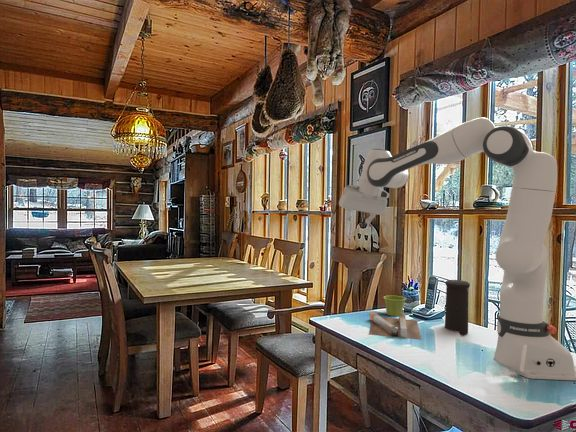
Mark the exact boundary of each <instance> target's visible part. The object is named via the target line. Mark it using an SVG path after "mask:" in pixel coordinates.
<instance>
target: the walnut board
mask: <svg viewBox="0 0 576 432" xmlns="http://www.w3.org/2000/svg"><path fill="white" fill-rule="evenodd" d="M381 317H382V316H381ZM382 318H383V319H385V320H386V321H388V322H389V323H391V324H392V325H394V326H396V327H398V336H392V335H391V334H390V333H388V332H387V331H386V330H384V329H383V328H381V327H380V326H379V325H377V324H376V323H375V322H373V321H371V320H370V326H369V331H368V335H370V336H371V335H372V336H379V337H388V338H389V337H391V338H392V337H393V338H400V339H403V338H402V337H401V335H400V323H399V318H392V317H382ZM405 321H406V327H407V338H406V339H411V340H419V341H420V340H421V341H422V335H421V331H420V328H419V324H418V320H416V319H415V320H414V319H406V318H405Z"/></svg>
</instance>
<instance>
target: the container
mask: <svg viewBox="0 0 576 432" xmlns="http://www.w3.org/2000/svg"><path fill="white" fill-rule="evenodd" d="M444 283H445V286H446V290H445V292H446V293H445V295H446V296H445V317H444V318H445V319H444V328H445V329H446V330H448V331H452V332H458V333H459V335H460V336H464V335H465V336H466V335H468V333H469V292H470V291H469V288H470V286H471V284H470V282H468V281H466V280H461V279H460V280H459V279H447V280H445V282H444Z"/></svg>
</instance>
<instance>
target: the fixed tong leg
mask: <svg viewBox="0 0 576 432" xmlns="http://www.w3.org/2000/svg"><path fill="white" fill-rule="evenodd" d="M398 319H399V323H400V335H401V337H402V338H401V339H408V338H407V327H406V321H405V319H406V314H403V313H402V314H399V316H398Z"/></svg>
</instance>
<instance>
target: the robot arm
mask: <svg viewBox="0 0 576 432" xmlns="http://www.w3.org/2000/svg"><path fill="white" fill-rule="evenodd" d="M480 153H484V154H485V155H486V157H487V158H488V159H489V160H491V161H493V162H494V163H496V164H498V165H501V166H503V167H508V168H510V169H512V172H513V179H512V185H511V190H510V191H511V192H510V197H509V203H508V207H507V209H508V210H507V213H506V217H505V221H504V224H503V227H502V231H501V234H500V237H499V241H498V245H497V247H496V248H497V249H496V251H495V261H496V263H497V264H498V266H499V268H501V269H502V270H503V277H502V283H501V287H500V290H499V291H500V292H499V315H498V316H497V322H496V323H497V326H496V328H497V329H496V331H497V344H496V348H495V351H494V355H493V358H492V360H493V361H495V362H497V363H498V364H501V366H505V367H506V368H508V369H510V370H512V371H514V372H515V373H517V374H519V375H520V376H523V377H525V378H527V379H534V380H535V379H536V380H537V379H539V380H555V381H559V380H560V381H576V366H575V362H574V358H573V355H572V354H571V352H570V350H569V349H568V348H566V347H565V346H564V345H563V344H562V343H561V342H560V341H558V340H557V339H556V338H554V337H553V336H552V335H553V334H556V333H557V331H558V330H557V327H555V326H554V325H552V324H549V323H547V322H546V321H544V292H545V283H546V277H547V275H546V274H547V263H548V250H547V247H546V245H545V240H546V236H547V233H548V230H549V226H550V222H551V220H552V215H553V211H554V209H553V208H554V204H555V198H556V193H557V192H556V191H557V188H558V187H557V185H558V162H557V160H556V158H555V156H554V155H552V154H549V153H548V152H542V151H535V145H534V142H533V141H532V139H531V138H529V137H528V135H527V134H526V133H525V132H523V130H522V131H521V130H519V129H518V128H515V126H512V125H511V126H510V125H500V126H497V127H496V126H495V124H494V122H492V121H491V120H490V119H489V118H487V117H482V116H481V117H477V118H475V119H471V120H469V121H465V122H463V123H460V124H458V125H456V126H454V127H452V128H450V129H448V130H446V131H444V132H443V133H440V134H438V135H437V136H435V137H433V138H430V139H428V140H427V141H424V142H422V143H420V144H417V145H414V146H413V147H410V148H408V149H406V150H404V151H401V152H399V153H397V154H395V155H393V156H392V154H391V152H390V151H389V150H386V149H383V148H382V149H381V148H372V149H370V150H369V152H368V153H367V155H366V157H365V160H364V162H363V166H362V172H361V175H360V176H359V178H358V181H357V184H356V185H351V184H348V185H346V186H345V187H343V190H342V194H341V196H340V199H339V201H338V206H339V207H341V208H343V209H345V210H344V211H345V219H344V220H347V221H351V219H352V216H351V214H350V213H351V212H352V211H358V212H361V213H362V212H363V213H367V214H369V216H368V217H366V218H365V221H364V223H365V224H367V225H371V221H372V220H373V219H374V218H375V216H376V215H377V216H378V215H379V216H383V215H384V214H385V213H386V211H387V210H386V209H387V206H388V199H389V198H390V193H389V192H387V190H384V189H383V188H390V189H399V188H402V187H404V186H405V185H407V182H408V180H409V178H410V177H409V175H410V174H409V170H411V169H412V168H414V167H418V166H421V165H428V164H430V165H431V164H432V165H434V164H435V165H450V164H455V163H457V162H460V161H464V160H465V159H468V158H470V157H472V156H475V155H476V154H480ZM381 187H382V188H381ZM550 334H552V335H550Z"/></svg>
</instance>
